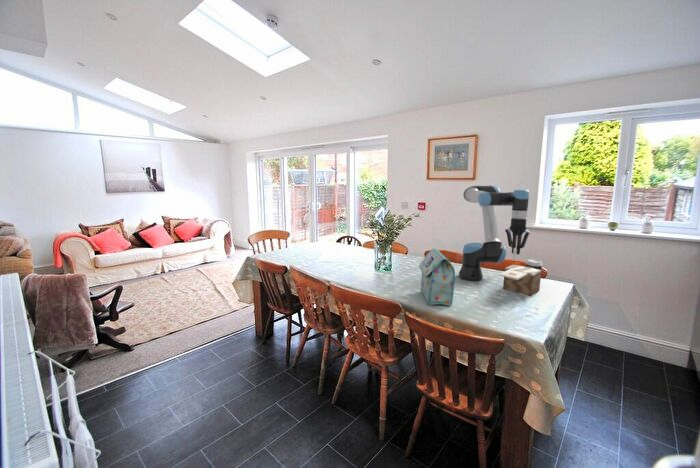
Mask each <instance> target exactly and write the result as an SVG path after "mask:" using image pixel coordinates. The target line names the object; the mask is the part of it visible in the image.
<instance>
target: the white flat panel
mask: <svg viewBox="0 0 700 468" xmlns="http://www.w3.org/2000/svg"><path fill="white" fill-rule="evenodd" d="M498 275H499V276H500V277H503V278H504V277H507V278H512V279H516V280H518V279H520V278H522V277H524V276H526V275H527V273H523V272H519V271H514V270H507V271H505V270H504V271H503V272H500V273H498Z"/></svg>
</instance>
